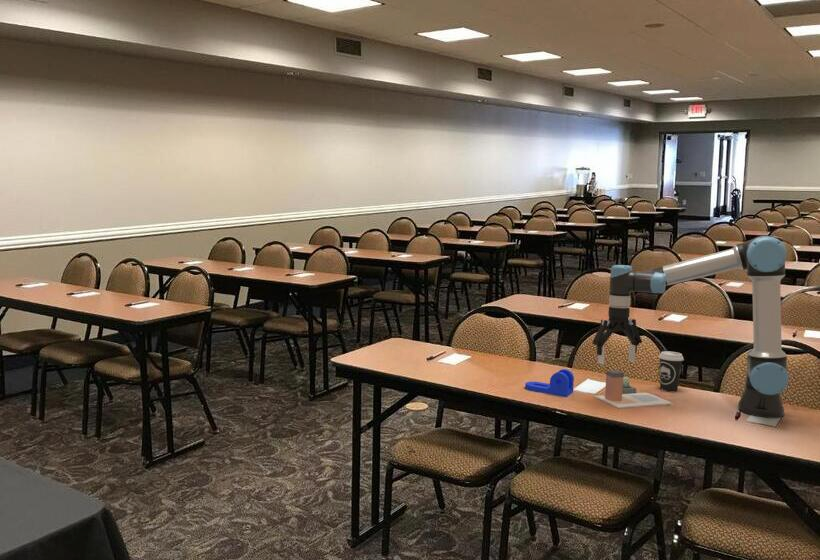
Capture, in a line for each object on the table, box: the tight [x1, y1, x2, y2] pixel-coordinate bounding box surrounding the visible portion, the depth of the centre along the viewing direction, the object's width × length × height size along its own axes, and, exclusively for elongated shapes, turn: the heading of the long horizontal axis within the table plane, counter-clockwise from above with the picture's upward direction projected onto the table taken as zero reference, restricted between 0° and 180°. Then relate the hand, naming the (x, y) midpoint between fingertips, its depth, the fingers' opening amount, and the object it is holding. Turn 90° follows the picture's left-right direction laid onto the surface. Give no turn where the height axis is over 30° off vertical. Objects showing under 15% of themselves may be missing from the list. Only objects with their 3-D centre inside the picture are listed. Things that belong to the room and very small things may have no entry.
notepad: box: [594, 392, 674, 410], centre depth 263 cm, size 15×24×1 cm, turn 109°
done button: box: [623, 375, 630, 388], centre depth 274 cm, size 4×4×4 cm
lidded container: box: [604, 369, 625, 401], centre depth 261 cm, size 5×5×11 cm
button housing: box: [622, 384, 637, 394], centre depth 275 cm, size 7×7×2 cm
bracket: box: [524, 368, 575, 398], centre depth 272 cm, size 18×8×9 cm, turn 60°
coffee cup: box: [658, 350, 685, 392], centre depth 281 cm, size 10×10×15 cm
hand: (616, 362), depth 260 cm, fingers open, 13 cm apart
